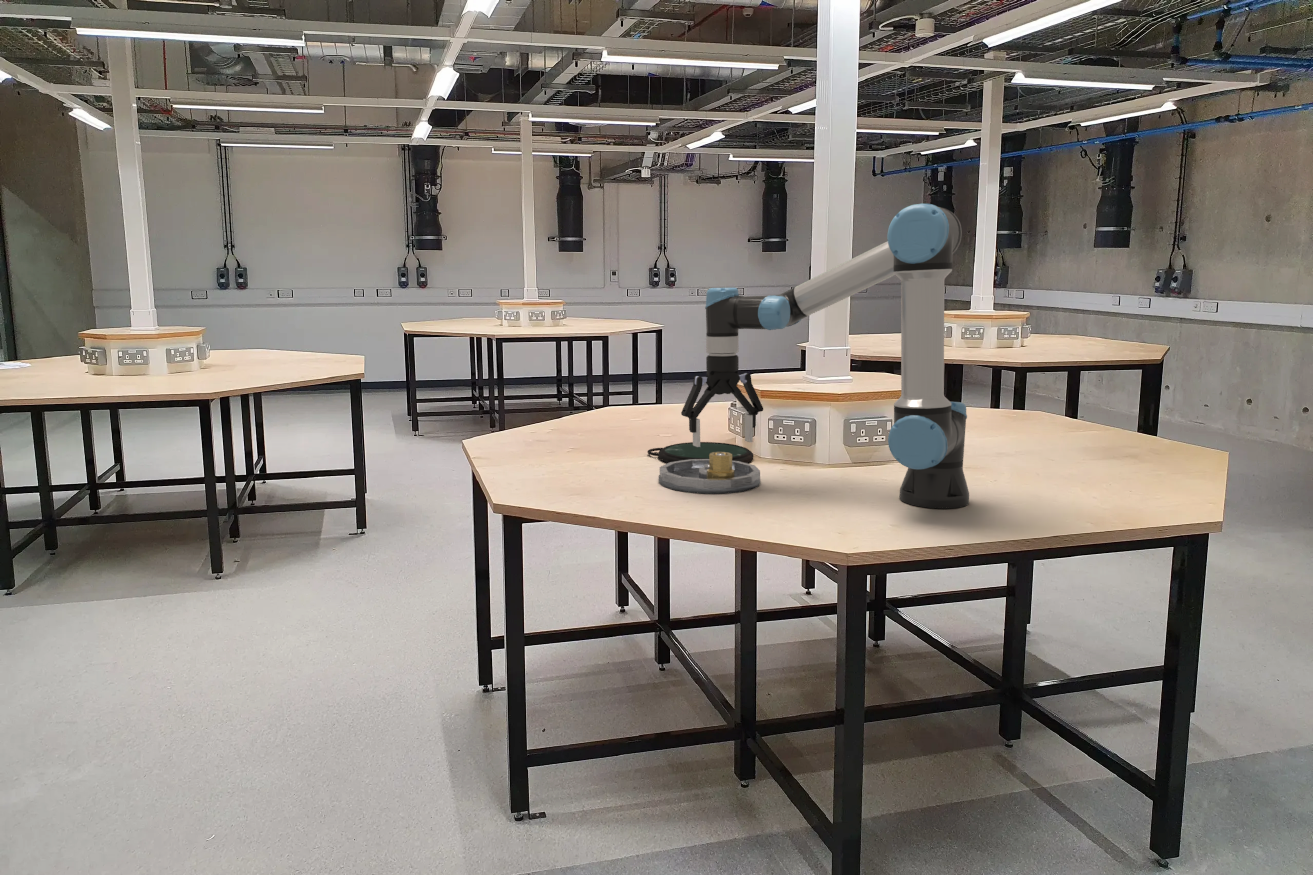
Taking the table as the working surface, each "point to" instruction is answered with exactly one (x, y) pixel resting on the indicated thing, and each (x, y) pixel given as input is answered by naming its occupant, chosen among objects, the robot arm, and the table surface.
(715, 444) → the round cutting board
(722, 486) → the carrier
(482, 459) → the table surface
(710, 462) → the brass hex pipe fitting
